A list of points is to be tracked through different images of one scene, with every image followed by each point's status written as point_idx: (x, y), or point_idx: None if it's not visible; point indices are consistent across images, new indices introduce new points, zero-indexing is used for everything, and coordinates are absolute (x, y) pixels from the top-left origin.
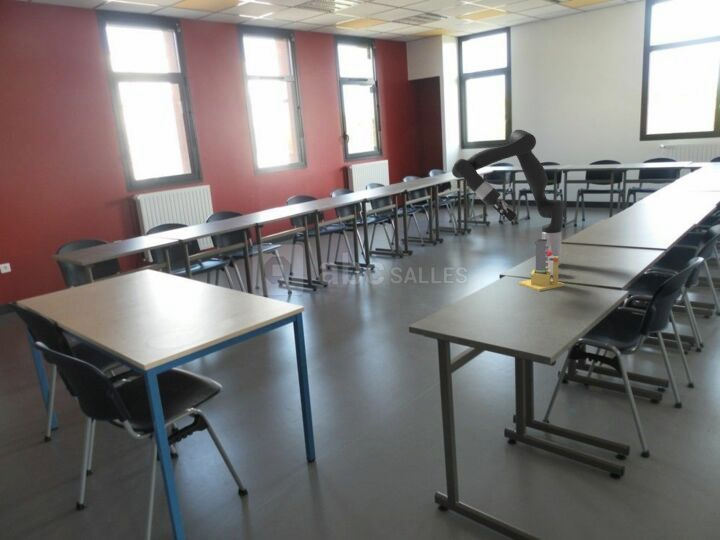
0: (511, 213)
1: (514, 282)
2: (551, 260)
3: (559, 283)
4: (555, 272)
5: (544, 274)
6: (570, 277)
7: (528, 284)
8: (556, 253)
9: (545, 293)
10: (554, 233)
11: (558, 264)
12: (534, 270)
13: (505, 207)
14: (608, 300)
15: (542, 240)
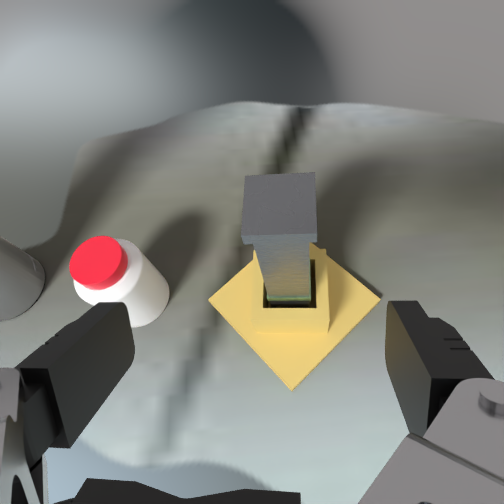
0: (93, 368)
1: (266, 410)
2: None
3: None
4: None
5: (326, 266)
6: (189, 219)
7: (323, 343)
8: (8, 246)
9: (400, 278)
10: None
11: (36, 260)
12: (264, 310)
13: (464, 463)
14: (422, 122)
15: (281, 195)
